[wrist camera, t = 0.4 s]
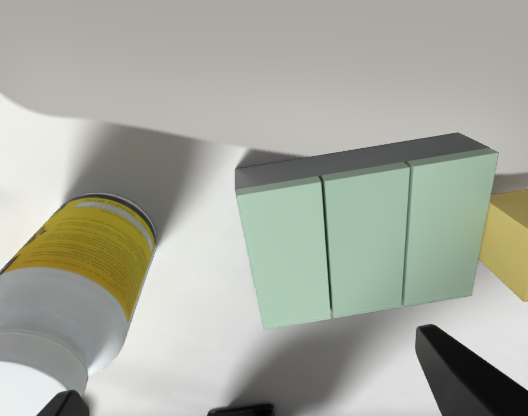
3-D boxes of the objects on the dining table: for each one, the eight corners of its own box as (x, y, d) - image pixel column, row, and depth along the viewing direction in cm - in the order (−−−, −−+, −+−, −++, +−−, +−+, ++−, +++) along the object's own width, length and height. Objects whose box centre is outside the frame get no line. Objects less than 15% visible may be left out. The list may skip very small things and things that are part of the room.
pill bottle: (84, 168, 21) (-64, 310, 10) (177, 223, 23) (132, 385, 13) (39, 241, 23) (-121, 420, 12) (129, 285, 25) (55, 467, 15)
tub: (441, 260, 26) (465, 287, 23) (259, 290, 26) (261, 320, 23) (458, 132, 21) (489, 147, 19) (234, 169, 21) (235, 189, 19)
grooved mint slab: (537, 275, 23) (599, 326, 19) (262, 320, 23) (268, 381, 19) (580, 132, 19) (674, 161, 15) (235, 189, 19) (236, 233, 15)
